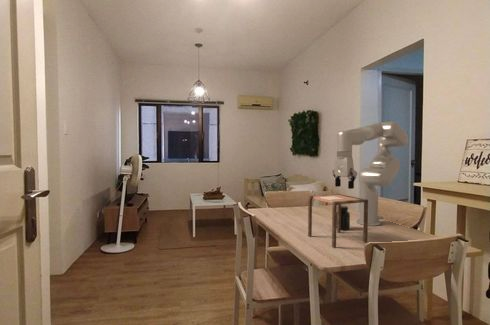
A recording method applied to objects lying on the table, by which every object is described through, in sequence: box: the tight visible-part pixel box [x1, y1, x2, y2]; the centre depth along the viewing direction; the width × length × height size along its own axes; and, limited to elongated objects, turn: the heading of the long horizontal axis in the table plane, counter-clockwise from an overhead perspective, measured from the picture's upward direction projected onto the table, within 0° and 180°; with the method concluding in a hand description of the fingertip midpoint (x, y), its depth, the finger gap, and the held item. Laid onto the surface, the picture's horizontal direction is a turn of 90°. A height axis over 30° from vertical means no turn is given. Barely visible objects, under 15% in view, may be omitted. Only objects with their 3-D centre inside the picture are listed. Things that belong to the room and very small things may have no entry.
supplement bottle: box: [336, 205, 351, 231], centre depth 156 cm, size 7×7×12 cm
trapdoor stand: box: [307, 193, 369, 249], centre depth 138 cm, size 19×19×20 cm
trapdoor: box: [312, 194, 361, 204], centre depth 137 cm, size 16×15×1 cm
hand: (344, 187), depth 155 cm, fingers open, 9 cm apart
